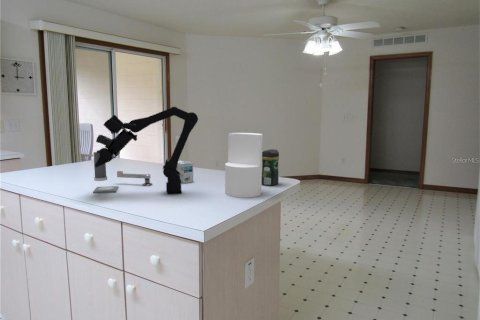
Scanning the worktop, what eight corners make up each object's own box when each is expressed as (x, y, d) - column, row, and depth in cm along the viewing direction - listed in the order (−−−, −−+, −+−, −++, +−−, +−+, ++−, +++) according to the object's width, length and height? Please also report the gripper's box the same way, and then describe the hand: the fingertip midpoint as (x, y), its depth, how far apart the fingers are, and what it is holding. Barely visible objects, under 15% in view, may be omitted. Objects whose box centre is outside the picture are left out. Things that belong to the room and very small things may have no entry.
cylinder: (237, 187, 176) (237, 132, 172) (267, 191, 168) (268, 133, 163) (217, 194, 162) (218, 134, 157) (250, 199, 153) (251, 136, 149)
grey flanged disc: (150, 183, 182) (149, 177, 181) (154, 185, 178) (153, 178, 177) (140, 184, 179) (140, 178, 178) (144, 186, 175) (144, 179, 174)
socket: (118, 187, 172) (118, 185, 172) (115, 192, 162) (115, 190, 162) (97, 188, 170) (97, 186, 170) (93, 193, 160) (92, 191, 160)
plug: (108, 178, 161) (107, 149, 159) (105, 180, 155) (103, 151, 153) (96, 178, 160) (94, 149, 158) (92, 181, 155) (90, 151, 153)
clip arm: (151, 177, 179) (151, 172, 178) (148, 178, 176) (148, 173, 175) (119, 176, 181) (119, 170, 181) (116, 177, 178) (116, 171, 178)
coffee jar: (267, 181, 190) (268, 148, 187) (280, 183, 186) (281, 149, 183) (258, 184, 182) (259, 149, 179) (272, 186, 178) (273, 151, 175)
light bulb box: (193, 182, 187) (193, 162, 185) (183, 183, 182) (183, 163, 180) (181, 179, 194) (181, 160, 192) (171, 180, 189) (171, 161, 188)
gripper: (111, 127, 164) (88, 150, 164) (102, 129, 146) (76, 156, 146) (129, 143, 166) (106, 166, 166) (122, 148, 148) (96, 174, 148)
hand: (96, 165), depth 157 cm, fingers closed on plug, 5 cm apart
